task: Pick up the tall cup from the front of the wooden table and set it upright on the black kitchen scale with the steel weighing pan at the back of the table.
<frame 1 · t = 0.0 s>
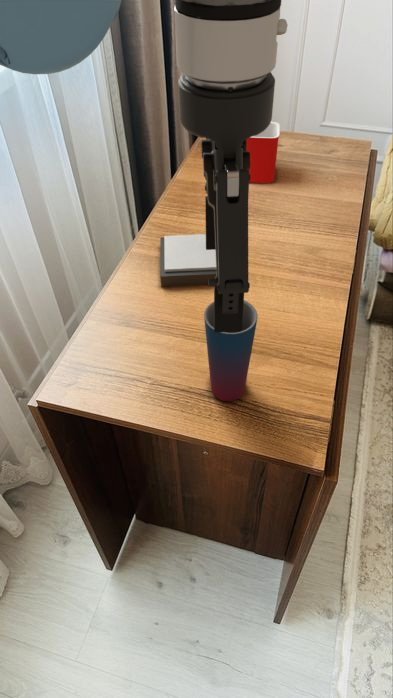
hand: (222, 285, 54), 24 cm above the table, tool pointing down, fingers open, 13 cm apart
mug: (257, 171, 119), on the table
cup: (227, 388, 75), on the table
scale: (192, 264, 95), on the table
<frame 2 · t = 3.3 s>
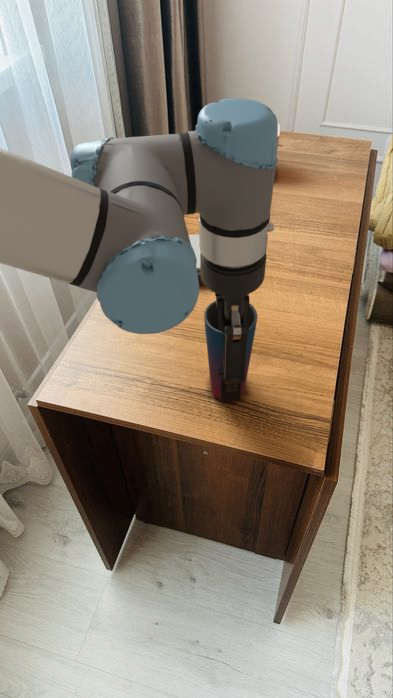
hand: (228, 380, 73), 2 cm above the table, tool pointing down, fingers closed on cup, 6 cm apart
cup: (227, 388, 75), on the table, touching gripper
everything else where it was.
when the fingers open (5 cm above the table, at t = 10.6 s): cup stays where it is, resting on scale.
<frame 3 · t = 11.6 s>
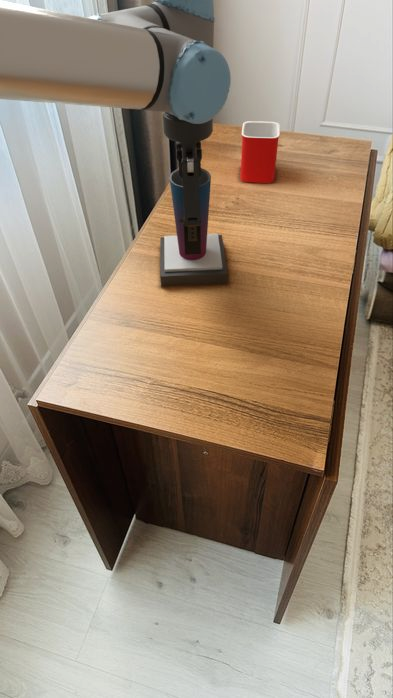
hand: (191, 230, 89), 8 cm above the table, tool pointing down, fingers open, 13 cm apart
cup: (192, 252, 93), point 3 cm above the table, touching scale
everything else where it was.
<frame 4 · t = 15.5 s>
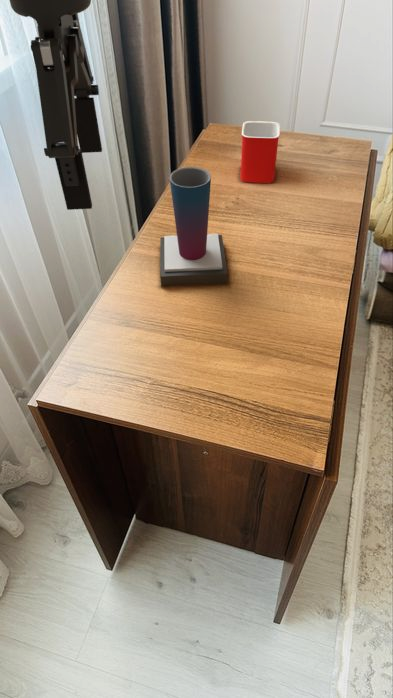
hand: (86, 177, 60), 29 cm above the table, tool pointing down, fingers open, 13 cm apart
nothing on the table moved.
at the end: cup inside the target area on the scale (0.0 cm from its centre), point 2.8 cm above the scale's base; cup tilted 0°; the gripper is holding nothing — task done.
